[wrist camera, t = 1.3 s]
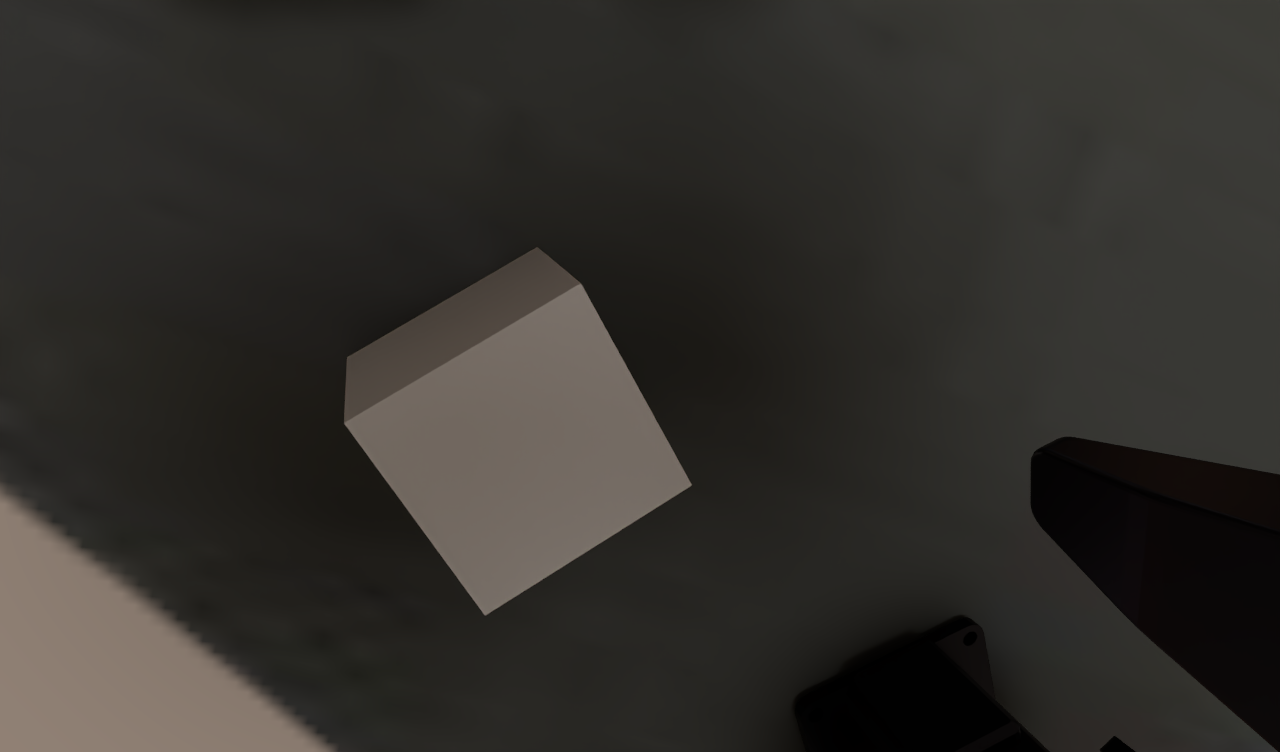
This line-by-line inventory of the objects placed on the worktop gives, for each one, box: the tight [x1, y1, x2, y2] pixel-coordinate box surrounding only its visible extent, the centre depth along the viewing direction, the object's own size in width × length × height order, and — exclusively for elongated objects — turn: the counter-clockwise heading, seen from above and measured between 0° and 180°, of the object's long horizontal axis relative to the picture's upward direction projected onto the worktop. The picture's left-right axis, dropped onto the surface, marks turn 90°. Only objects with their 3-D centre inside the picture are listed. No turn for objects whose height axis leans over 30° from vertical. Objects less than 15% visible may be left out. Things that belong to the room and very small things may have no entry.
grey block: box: [344, 247, 692, 615], centre depth 19 cm, size 5×5×4 cm
